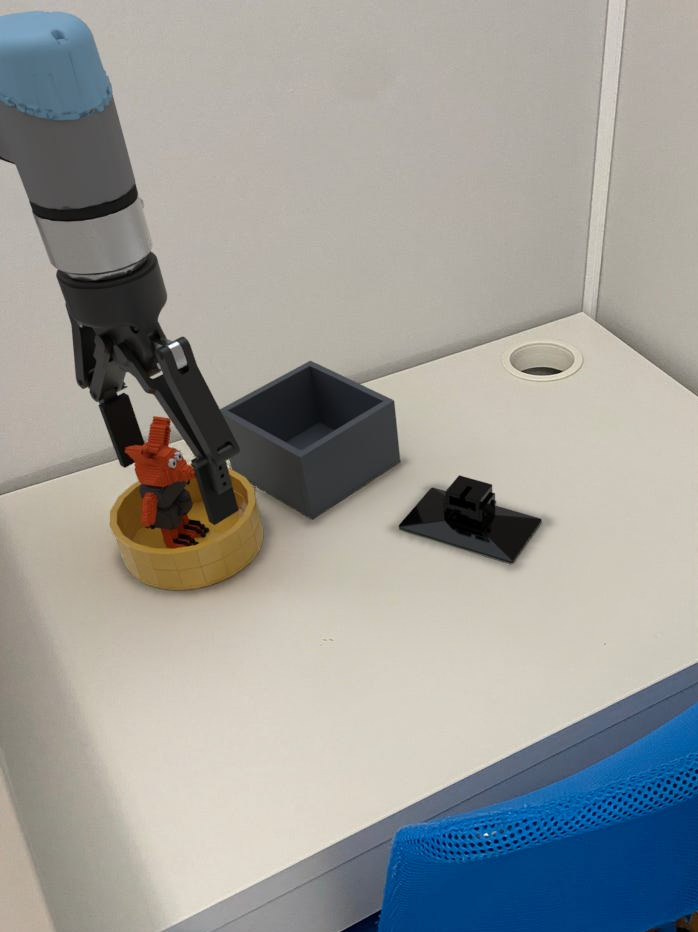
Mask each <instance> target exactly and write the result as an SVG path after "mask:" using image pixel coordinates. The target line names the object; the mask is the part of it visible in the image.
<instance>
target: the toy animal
mask: <svg viewBox="0 0 698 932" xmlns="http://www.w3.org/2000/svg"><path fill="white" fill-rule="evenodd" d="M171 423H172V421H171V420H170V418H169V417H164V416H157V415H156V416H155V415H154V416H152V422H151V423H150V424H149V430H148V431H149V432H148V436H147V437H148V438H147V442H144V444H143V446H139V445H134V446H129V447H126V448H125V449H126V450H125V453H127V454H128V455H129V456H130V458H132V459H133V460H134V462H135V463H133V464H134V473H135V475H136V478H137V480H138V481H139V482H140V484H141V485H140V486H139V488H140V489H139V492H140V495H141V498H142V501H143V502H142V505H143V506H142V517H141V518H142V519H141V522H142V524H143V525H144V526H145V528H148V529H149V528H151V529H155V528H160V529H161V532H162V535H163V539H164V542H165V545H166V546H167V548H173V549H174V548H181V547H187V546H193V545H197V544H199V542H196V541H195V538H197V537H204V538H205V536H206V533H208V532H209V531H210V530H209V528H207V527H205V524H201V522H200V521H198V520H191V519H189V518H188V515H187V514H188V513H189V511H190V510H191V509H192V507H193V506H192V505H193V502H192V499H191V496H190V493H189V491H187V490H186V489H185V486H186V480H188V482H187V485H189V484H190V480H191V478H196V476H195V473H194V471H193V468H192V466H188V465H189V463H188V462H187V461H186V459H185V458H184V456H183V453H182V452H181V450H179V449H177V448H174V447H171V446H170V441H171V439H170V438H171V432H172V430H171Z"/></svg>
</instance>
